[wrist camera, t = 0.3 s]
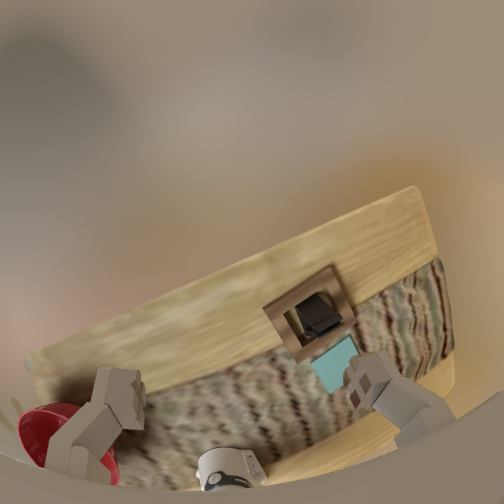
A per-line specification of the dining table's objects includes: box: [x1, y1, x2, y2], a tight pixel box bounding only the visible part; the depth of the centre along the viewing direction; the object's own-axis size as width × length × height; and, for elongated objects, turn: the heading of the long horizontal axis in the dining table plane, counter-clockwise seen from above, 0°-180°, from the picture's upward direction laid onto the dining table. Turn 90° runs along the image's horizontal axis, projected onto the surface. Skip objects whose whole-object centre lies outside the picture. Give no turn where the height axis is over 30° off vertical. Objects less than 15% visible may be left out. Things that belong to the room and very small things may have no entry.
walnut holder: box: [263, 267, 357, 364], centre depth 65 cm, size 16×18×2 cm
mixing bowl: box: [17, 403, 119, 486], centre depth 49 cm, size 28×28×15 cm
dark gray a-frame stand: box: [294, 293, 345, 339], centre depth 60 cm, size 9×6×12 cm, turn 24°
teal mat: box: [310, 335, 359, 394], centre depth 68 cm, size 12×12×1 cm
